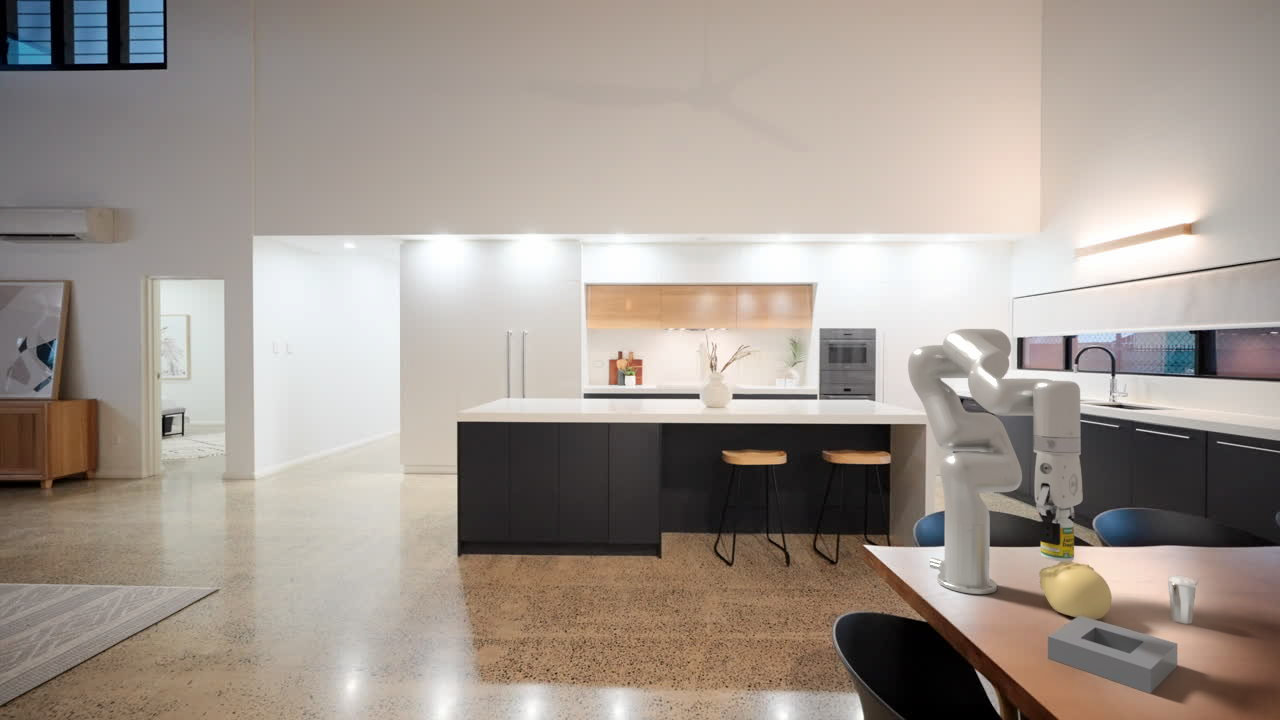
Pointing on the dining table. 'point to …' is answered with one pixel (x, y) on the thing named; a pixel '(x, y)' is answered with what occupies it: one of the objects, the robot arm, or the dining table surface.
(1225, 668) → the dining table surface
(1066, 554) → the supplement bottle
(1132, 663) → the socket block
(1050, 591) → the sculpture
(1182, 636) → the dining table surface
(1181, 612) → the milkshake
